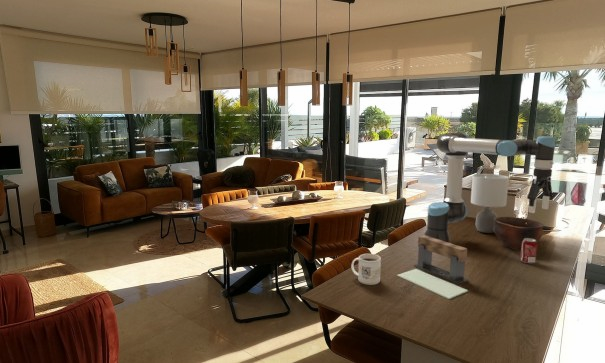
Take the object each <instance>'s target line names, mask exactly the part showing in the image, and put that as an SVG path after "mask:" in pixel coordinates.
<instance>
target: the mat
mask: <svg viewBox="0 0 605 363" xmlns="http://www.w3.org/2000/svg"><path fill="white" fill-rule="evenodd" d="M396 276H397V277H399V278H401V279H403V280H405V281H407V282H410V283H412V284H414V285H416V286H419V287H421V288H423V289H425V290H427V291H429V292H432V293H433V294H436V295H438V296H441V297H442V298H444V299H447V300H451V299H453V298H456V297H458V296H460V295H463V294H465V293H467V292H469V290H468V289H466V288H463V287H461V286H460V285H459V286H458V285H456V284H455V283H453V282H452V283H451V282H450V281H448V280H444V279H443V278H442V279H441V278H440V277H438V276H436V275H433V274H432V275H431V273H430V274H429V273H428V272H426V271H425V272H424V271H423V270H421V269H419V268H414V269H411V270H408V271H405V272H402V273H399V274H397V275H396Z"/></svg>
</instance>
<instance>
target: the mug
mask: <svg viewBox="0 0 605 363" xmlns="http://www.w3.org/2000/svg"><path fill="white" fill-rule="evenodd" d="M356 261H358V272H357V271H356V270H355V267H354V266H355V265H354V264H355V262H356ZM381 262H382V258H381V256H379V255H378V254H374V253H363V254H360V255H359V256H358V257H356V258H354V259H353V260H352V262H351V265H350V266H351V271H352V273H353V274H354V275H356V277H358V278H357V279H358V282H360V283H361V284H363V285H370V286H371V285H373V286H374V285H377V284H379V283H380V282H381V267H382V266H381V264H382V263H381Z"/></svg>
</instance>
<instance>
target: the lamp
mask: <svg viewBox="0 0 605 363" xmlns="http://www.w3.org/2000/svg"><path fill="white" fill-rule="evenodd" d="M509 178H510V177H509V176H508V175H503V174H496V173H495V174H493V173H476V174H475V173H474V174H472V180H471V181H472V182H471V192H470V193H471V194H470V203H471V204H473V205H475V206H480V207H484V208H483V209H482V210H480V211H479V212H477V214H476V218H475V228H476V229H477V231H478V232H480V233H483V234H492V233H494V231H493V229H494V225H495V222H494V218H496V217H498V215H497V213H496V212H494V211H493V209H492V208H504V207H506V206H507V202H508V190H509V180H510V179H509Z"/></svg>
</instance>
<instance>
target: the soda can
mask: <svg viewBox="0 0 605 363" xmlns="http://www.w3.org/2000/svg"><path fill="white" fill-rule="evenodd" d="M537 250H538V242H536V240H535V239H532V238H524V240H523V241H522V248H521V250H520V258H519V259H520V261H521V262H522V263H525V264H528V265H531V264H535V263H536V260H537V259H536V258H537Z"/></svg>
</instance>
